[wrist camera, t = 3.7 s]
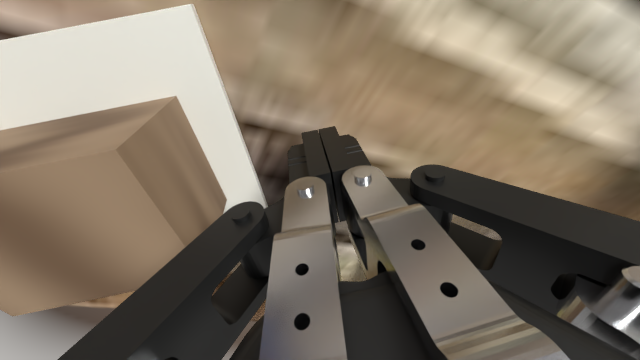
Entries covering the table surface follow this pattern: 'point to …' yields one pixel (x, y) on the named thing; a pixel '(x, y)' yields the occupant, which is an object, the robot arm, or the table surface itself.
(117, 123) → the walnut block
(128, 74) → the white square tile
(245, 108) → the table surface
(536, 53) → the table surface
